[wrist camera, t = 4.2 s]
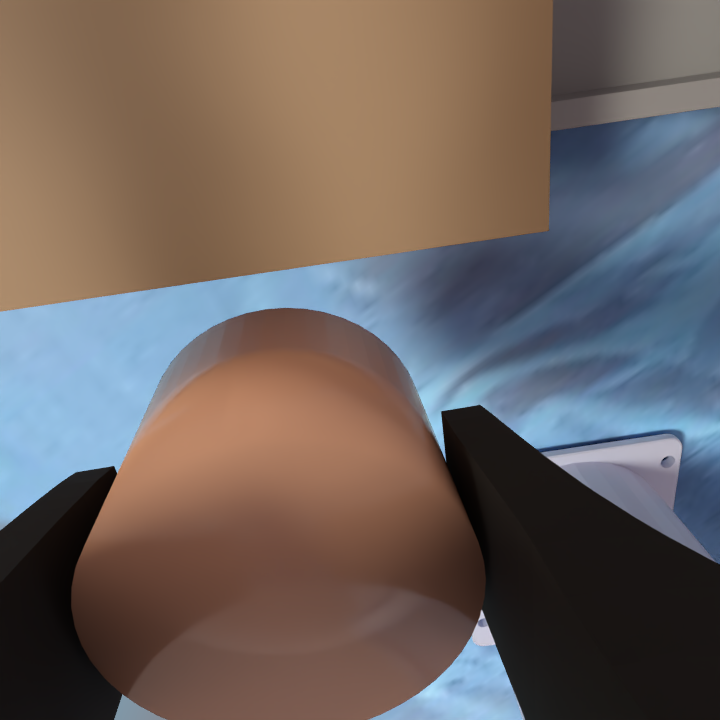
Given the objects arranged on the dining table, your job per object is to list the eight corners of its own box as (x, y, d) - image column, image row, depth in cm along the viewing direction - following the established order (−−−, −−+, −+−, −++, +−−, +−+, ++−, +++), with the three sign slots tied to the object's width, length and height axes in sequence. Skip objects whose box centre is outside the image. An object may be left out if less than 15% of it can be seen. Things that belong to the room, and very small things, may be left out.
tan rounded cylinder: (428, 516, 12) (487, 703, 8) (187, 554, 12) (139, 765, 8) (412, 289, 10) (483, 409, 6) (114, 330, 9) (2, 481, 6)
